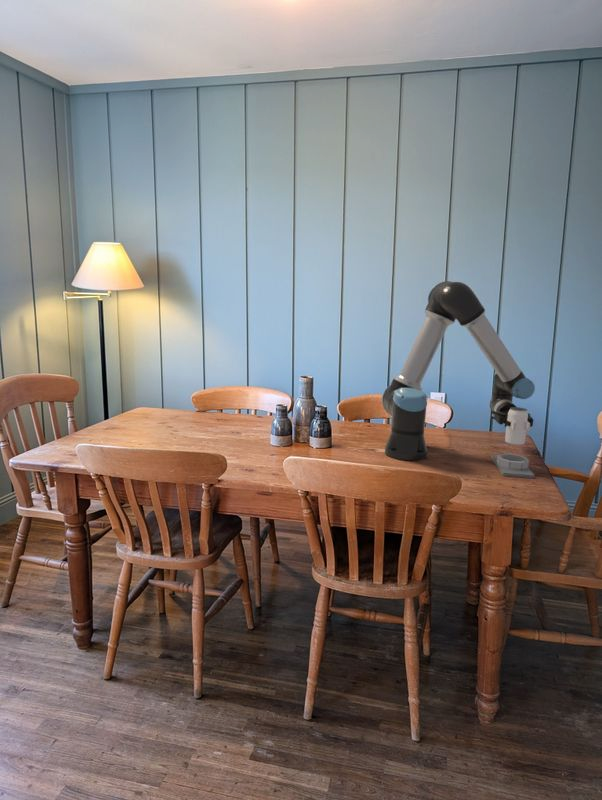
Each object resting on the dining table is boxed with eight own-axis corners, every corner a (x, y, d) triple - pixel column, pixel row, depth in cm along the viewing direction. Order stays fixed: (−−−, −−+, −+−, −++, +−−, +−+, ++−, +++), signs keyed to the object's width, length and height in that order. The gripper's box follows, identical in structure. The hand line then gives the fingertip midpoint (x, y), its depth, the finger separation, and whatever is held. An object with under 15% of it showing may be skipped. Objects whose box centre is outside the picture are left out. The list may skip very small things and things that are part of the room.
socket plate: (502, 475, 194) (503, 465, 193) (491, 457, 214) (492, 448, 213) (534, 478, 193) (535, 468, 192) (520, 460, 212) (521, 450, 212)
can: (511, 445, 198) (515, 411, 195) (501, 440, 204) (504, 406, 201) (528, 445, 199) (532, 410, 197) (517, 440, 205) (521, 406, 203)
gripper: (529, 423, 217) (546, 439, 195) (482, 420, 219) (494, 436, 197) (531, 403, 216) (549, 417, 193) (484, 400, 218) (496, 414, 195)
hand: (521, 427), depth 195 cm, fingers closed on can, 4 cm apart
